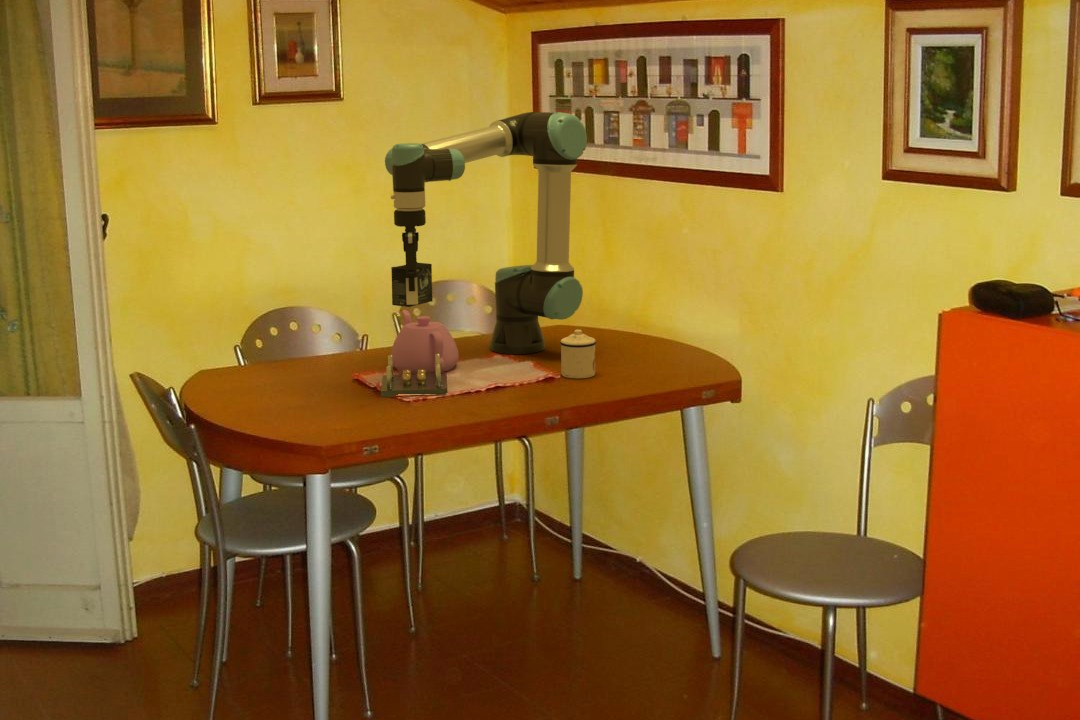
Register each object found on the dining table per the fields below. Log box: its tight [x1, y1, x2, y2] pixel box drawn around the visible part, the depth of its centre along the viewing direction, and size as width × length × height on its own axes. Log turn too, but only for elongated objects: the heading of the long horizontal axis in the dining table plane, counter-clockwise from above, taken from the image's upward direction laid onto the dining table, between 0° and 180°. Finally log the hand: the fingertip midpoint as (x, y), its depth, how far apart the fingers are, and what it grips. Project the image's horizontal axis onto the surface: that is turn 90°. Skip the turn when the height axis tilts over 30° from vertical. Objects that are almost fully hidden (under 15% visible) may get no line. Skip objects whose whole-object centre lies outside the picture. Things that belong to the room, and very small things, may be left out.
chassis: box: [380, 353, 448, 398], centre depth 326 cm, size 16×16×7 cm
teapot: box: [390, 309, 460, 374], centre depth 347 cm, size 25×18×14 cm
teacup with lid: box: [559, 329, 597, 380], centre depth 337 cm, size 12×9×12 cm
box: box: [390, 262, 433, 308], centre depth 321 cm, size 9×6×10 cm, turn 147°
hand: (412, 300), depth 322 cm, fingers closed on box, 10 cm apart
